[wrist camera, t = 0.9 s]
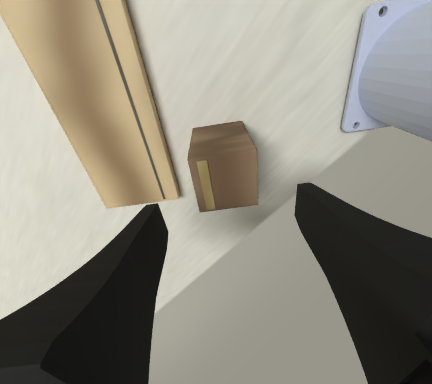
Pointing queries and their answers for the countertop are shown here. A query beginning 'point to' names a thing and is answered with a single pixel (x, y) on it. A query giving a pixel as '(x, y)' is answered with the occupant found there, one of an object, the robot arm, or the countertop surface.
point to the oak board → (97, 93)
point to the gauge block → (223, 166)
